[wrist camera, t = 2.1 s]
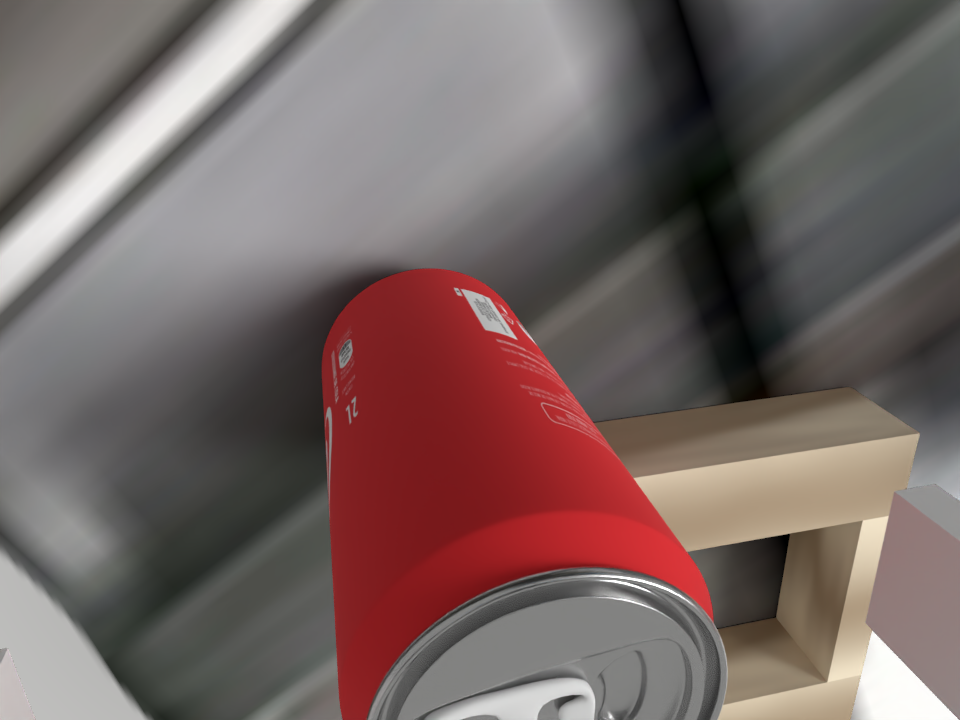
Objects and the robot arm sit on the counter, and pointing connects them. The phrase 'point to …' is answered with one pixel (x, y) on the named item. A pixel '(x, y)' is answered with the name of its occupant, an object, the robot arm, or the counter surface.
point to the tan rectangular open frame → (782, 528)
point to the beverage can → (493, 529)
